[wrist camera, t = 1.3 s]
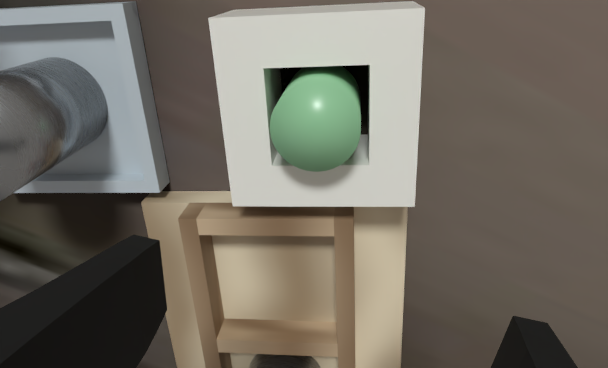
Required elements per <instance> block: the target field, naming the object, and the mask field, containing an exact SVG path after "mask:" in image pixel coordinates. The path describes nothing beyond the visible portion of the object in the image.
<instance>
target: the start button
mask: <svg viewBox="0 0 608 368" xmlns="http://www.w3.org/2000/svg"><path fill="white" fill-rule="evenodd" d="M270 134H271V139H272V142H273V144H274V146H275V148H276V150H277V151H278V153H279V154H280V155H281V156H282V157H283V158H284V159H285V160H286V161H287V162H288V163H290V164H291V165H293V166H295V167H297V168H299V169H302V170H306V171H313V172H320V171H327V170H330V169H333V168H336V167H338V166H340V165H341V164H343V163H344V162H345V161H346V160H348V159H349V158H350V156H351V155H352V154H353V153H354V151H355V149H356V148H357V146H358V143H359V140H360V135H361V99H360V90H359V87H358V84H357V82H356V80H355V78H354V77H353V75H352V74H351V73H350V72H349V71H348V70H346V69H345V68H344V67H342V66H321V67H303V68H301V69H300V70H299V71H298V72H297V73H296V74H295V75H294V76H293V78H292V79H291V81H290V83H289V84H288V86H287V88H286V89H285V91H284V93H283V94H282V96H281V97H280V99H279V101H278V102H277V104H276V106H275V107H274V110H273V112H272V115H271V119H270Z"/></svg>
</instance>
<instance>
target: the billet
mask: <svg viewBox="0 0 608 368" xmlns="http://www.w3.org/2000/svg"><path fill="white" fill-rule="evenodd" d="M107 119H108V106H107V101H106V98H105V95H104V93H103V90H102V89H101V87H100V85H99V84H98V82H97V81H96V79H95V78H94V77H93V76H92V75H91V74H90V73H89V72H88V71H87V70H86V69H84V68H83V67H82V66H80V65H78V64H77V63H75V62H72V61H70V60H67V59H64V58H58V57H49V58H44V59H40V60H36V61H33V62H29V63H26V64H22V65H19V66H15V67H12V68H8V69H5V70H1V71H0V201H1V200H3V199H5V198H6V197H8V196H9V195H11V194H12V193H14V192H16V191H17V190H19V189H20V188H22V187H23V186H25V185H26V184H28V183H29V182H31V181H33V180H34V179H36V178H37V177H39V176H40V175H42V174H43V173H45V172H46V171H48V170H50V169H51V168H53V167H54V166H56V165H57V164H59V163H60V162H62V161H63V160H65V159H67V158H68V157H70V156H71V155H73V154H74V153H76V152H77V151H79V150H80V149H82V148H83V147H85V146H87V145H88V144H90V143H91V142H93V141H94V140H96V139H97V138H98V137H99V136H100V135H101V134H102V132H103V130H104V129H105V126H106V123H107Z"/></svg>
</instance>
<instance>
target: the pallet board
mask: <svg viewBox="0 0 608 368" xmlns="http://www.w3.org/2000/svg"><path fill="white" fill-rule="evenodd" d="M141 204H142V209H143V214H144V218H145V223H146V227H147V232H148V236H149V238H151V239H156V240H160V249H161V258H162V267H163V276H164V285H165V294H166V303H167V311H166V313H165V314H166V318H167V323H168V327H169V332H170V337H171V341H172V346H173V350H174V355H175V359H176V364H177V368H249V366H250V363H251V361H252V359H253V358H254V356H255V355H257V354H274V355H299V356H312V357H313V358H314V359H315V360H316V361H317V362H318V364H319V365H320V367H321V368H401V346H402V324H403V301H404V278H405V256H406V233H407V210H408V207H271V206H233V205H232V197H231V191H161V192H160V193H150V194H149V195H148V196H147V197H146V198H145V199H144V200H143V201H142V202H141Z"/></svg>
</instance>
